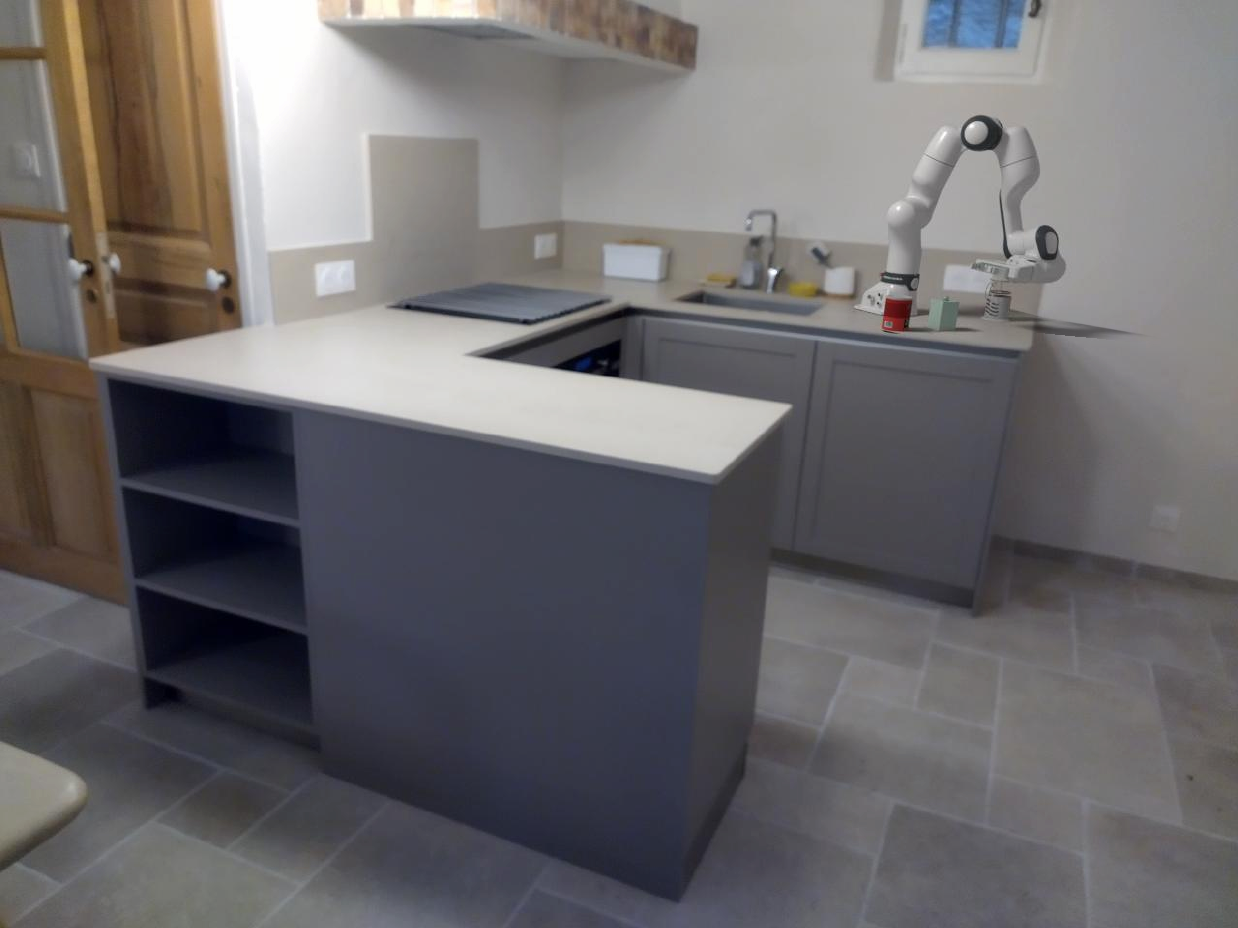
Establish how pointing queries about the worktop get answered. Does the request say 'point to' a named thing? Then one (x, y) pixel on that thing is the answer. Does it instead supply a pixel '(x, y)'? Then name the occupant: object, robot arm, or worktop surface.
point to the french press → (997, 302)
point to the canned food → (897, 313)
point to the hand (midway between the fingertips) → (982, 268)
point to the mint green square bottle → (943, 314)
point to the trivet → (941, 331)
